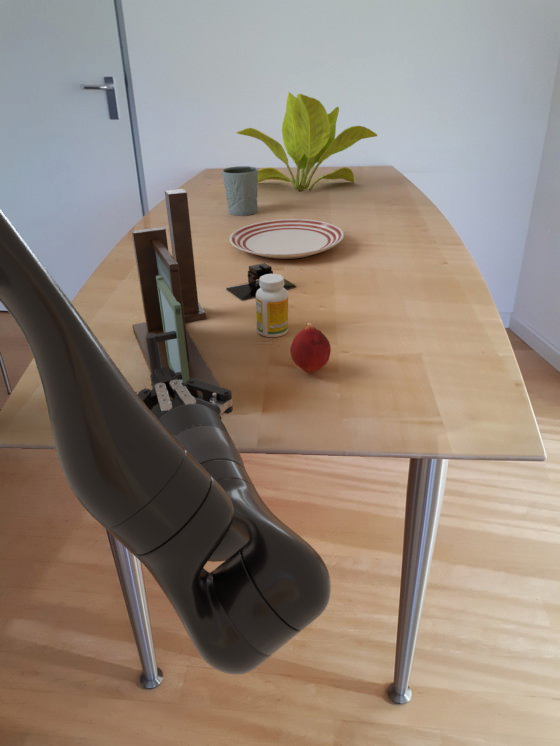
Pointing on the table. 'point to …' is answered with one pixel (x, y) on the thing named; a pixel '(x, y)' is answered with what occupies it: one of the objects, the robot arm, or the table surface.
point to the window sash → (169, 335)
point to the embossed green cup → (241, 189)
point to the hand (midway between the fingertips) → (160, 374)
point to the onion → (310, 349)
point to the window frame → (149, 265)
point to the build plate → (254, 282)
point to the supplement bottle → (272, 306)
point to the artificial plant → (308, 141)
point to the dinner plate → (287, 238)
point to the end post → (183, 252)
